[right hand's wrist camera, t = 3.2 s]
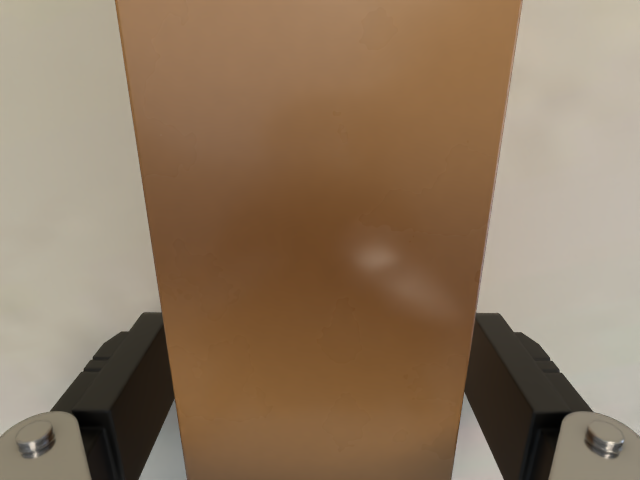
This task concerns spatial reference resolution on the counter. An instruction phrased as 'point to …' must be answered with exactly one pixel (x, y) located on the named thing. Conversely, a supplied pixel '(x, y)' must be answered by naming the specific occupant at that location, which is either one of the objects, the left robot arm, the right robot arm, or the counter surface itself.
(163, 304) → the post
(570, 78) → the counter surface
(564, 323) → the counter surface
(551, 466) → the right robot arm
